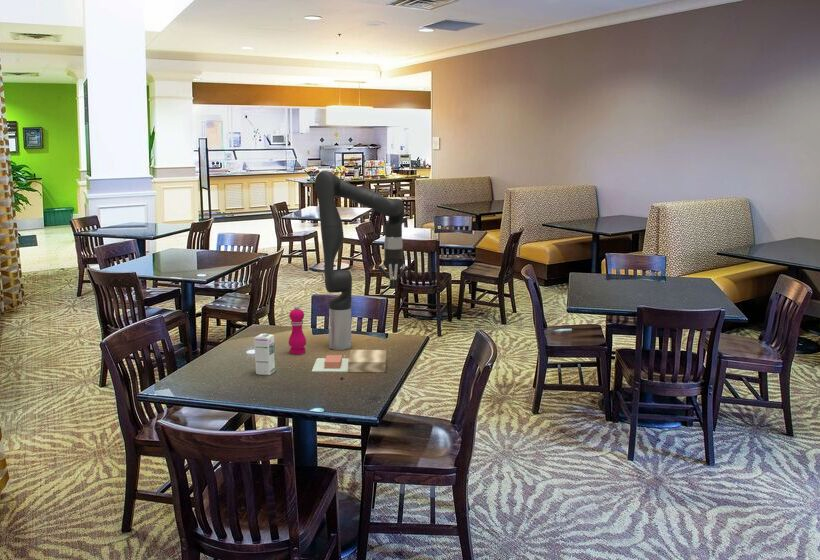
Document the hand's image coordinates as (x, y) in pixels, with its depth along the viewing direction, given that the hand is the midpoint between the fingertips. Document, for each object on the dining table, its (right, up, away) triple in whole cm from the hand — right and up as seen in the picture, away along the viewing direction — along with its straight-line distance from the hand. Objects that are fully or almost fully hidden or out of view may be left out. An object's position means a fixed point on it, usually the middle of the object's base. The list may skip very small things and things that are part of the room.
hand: (393, 288), depth 290 cm
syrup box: (-47, -32, -30) cm, 64 cm away
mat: (-23, -30, -21) cm, 43 cm away
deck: (-9, -30, -21) cm, 38 cm away
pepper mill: (-40, -27, -4) cm, 48 cm away
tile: (-23, -28, -21) cm, 42 cm away
